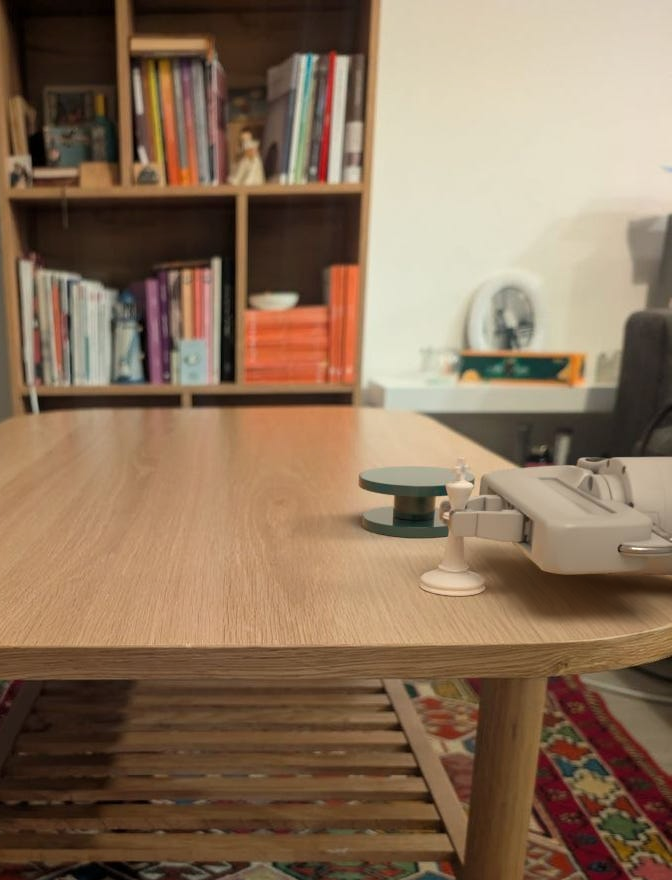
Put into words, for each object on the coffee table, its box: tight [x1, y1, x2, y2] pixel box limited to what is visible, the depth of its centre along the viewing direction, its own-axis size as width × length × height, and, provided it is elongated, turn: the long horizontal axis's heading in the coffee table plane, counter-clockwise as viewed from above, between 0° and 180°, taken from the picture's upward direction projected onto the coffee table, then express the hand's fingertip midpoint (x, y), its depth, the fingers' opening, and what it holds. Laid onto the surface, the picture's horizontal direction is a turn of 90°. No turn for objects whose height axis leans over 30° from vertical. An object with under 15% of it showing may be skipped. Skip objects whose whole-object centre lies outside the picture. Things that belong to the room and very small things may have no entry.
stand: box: [357, 465, 476, 539], centre depth 93 cm, size 11×11×5 cm
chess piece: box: [419, 457, 486, 597], centre depth 72 cm, size 5×5×10 cm
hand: (445, 517), depth 72 cm, fingers closed on chess piece
